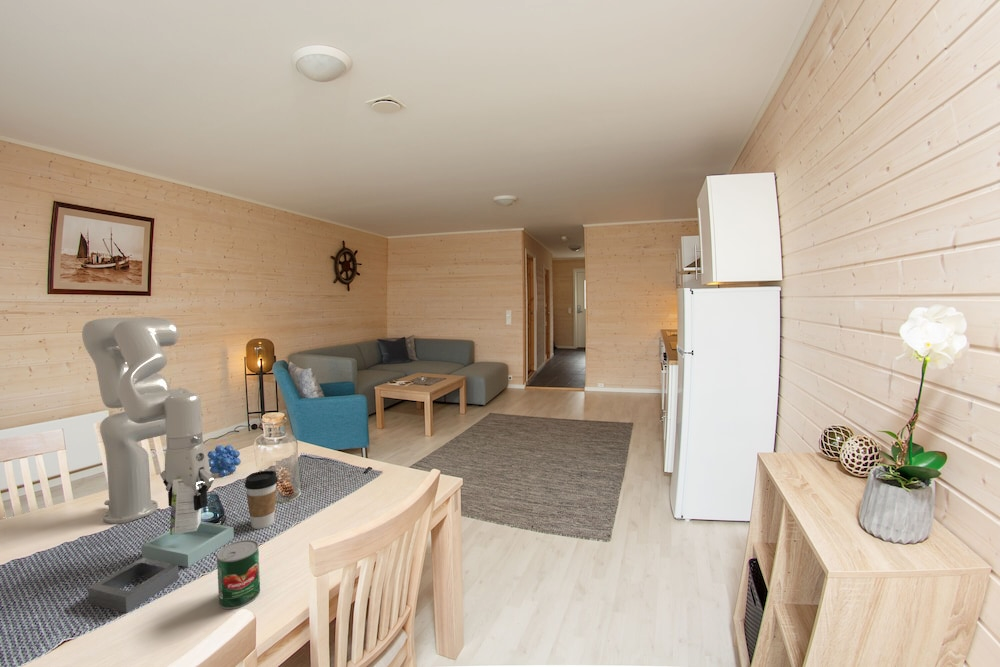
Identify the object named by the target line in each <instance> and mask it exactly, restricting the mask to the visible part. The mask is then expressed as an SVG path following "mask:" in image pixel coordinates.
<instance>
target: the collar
mask: <svg viewBox="0 0 1000 667" xmlns="http://www.w3.org/2000/svg"><path fill="white" fill-rule="evenodd" d="M139 578H146V580H145V581H142V582H140V584H138V585H136V586H135V587H133V588H132V589H130V590H125V589H123V588H124V587H126V586H127V585H130V584H131V583H132V582H135V581H136V580H138V579H139ZM178 580H179V565H175V564H170V563H165V562H161V561H156V560H152V559H147V558H143V557H141V558H139V559H138V560H136V561H134V562H132V563H131V564H128V565H127V566H124V567H123V568H121V569H119V570H118V571H116V572H114V573H112V574H110V575H108V576H106V577H104V578H103V579H100V580H99V581H97V582H95V583H94V584H92V585H90V586H88V587H87V595H88V596H87V597H88V604H91V605H95V606H99V607H103V608H107V609H110V610H114V611H118V612H121V613H125V614H127V613H130V612H131V611H132V610H134V609H135V608H137V607H139V606H140V605H141V604H143V603H145V602H147V600H149V599H150V598H152V597H153V596H155V595H157V594H159V593H161V591H163V590H164V589H166V588H168V587H169V586H171V585H173V584H174V583H175V582H177V581H178Z"/></svg>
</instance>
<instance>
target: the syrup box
mask: <svg viewBox="0 0 1000 667" xmlns="http://www.w3.org/2000/svg"><path fill="white" fill-rule="evenodd" d="M199 481H200V477H198V480H197V481H196V483H197V482H199ZM197 486H198V488H199V489H200V488H201V485H200V484H199V485H197ZM194 495H196V494H195V492H194V490H193V489H192V487H191V486H185V485H184V483H183V481H182V479H181V478H174V480H173V488H172V505H171V506H170V507H171V508H170V528H169V530H170V535H174V534H181V533H188V532H194V531H197V529H198V527H199V525H200V523H201V521H202V512H203V511H202V510H203V508H201V509H199V510H197V511H196V510H194Z"/></svg>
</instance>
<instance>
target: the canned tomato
mask: <svg viewBox="0 0 1000 667" xmlns="http://www.w3.org/2000/svg"><path fill="white" fill-rule="evenodd" d="M259 547H260V546H259V542H258V541H256V540H253V539H244V540H238V541H234V542H231V543H229V544H227V545H225V546H222V547H221V549H219V550H218V552H217V554H216V565H217V566H216V567H217V585H218V586H217V587H218V588H217V589H218V590H217V591H218V605H219V607H220V608H222V609H224V610H235V609H239V608H242V607H244V606H246V605H248V604H250V603H252V602H253V601H255V600H256V599H257V598H258V597H259V595H260V593H261V586H260V585H261V582H260V580H261V578H260V576H261V575H260V554H259V553H260V552H259V550H260V549H259Z"/></svg>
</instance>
